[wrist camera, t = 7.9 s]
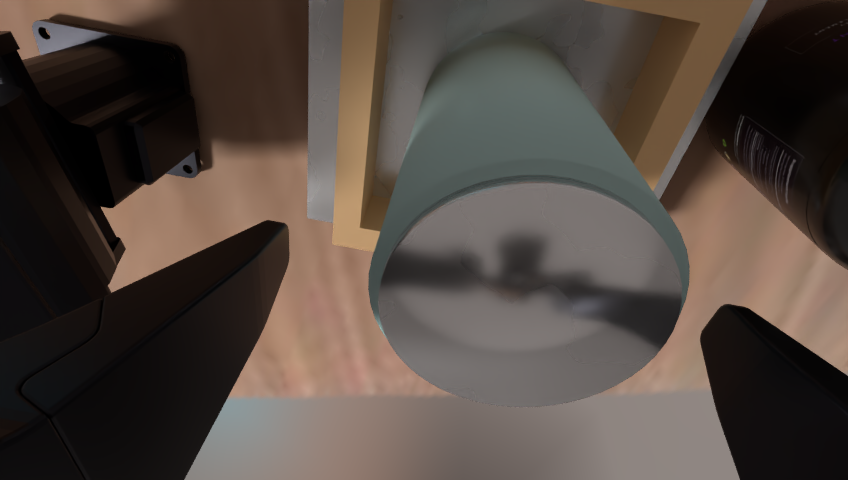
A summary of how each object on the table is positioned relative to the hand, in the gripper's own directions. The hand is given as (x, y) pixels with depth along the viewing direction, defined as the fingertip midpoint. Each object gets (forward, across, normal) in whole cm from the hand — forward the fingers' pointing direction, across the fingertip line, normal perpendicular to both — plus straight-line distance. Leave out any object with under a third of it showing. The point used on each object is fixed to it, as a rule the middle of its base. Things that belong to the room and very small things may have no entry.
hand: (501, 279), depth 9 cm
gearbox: (+13, 0, 0) cm, 13 cm away
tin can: (+9, 0, 0) cm, 9 cm away
